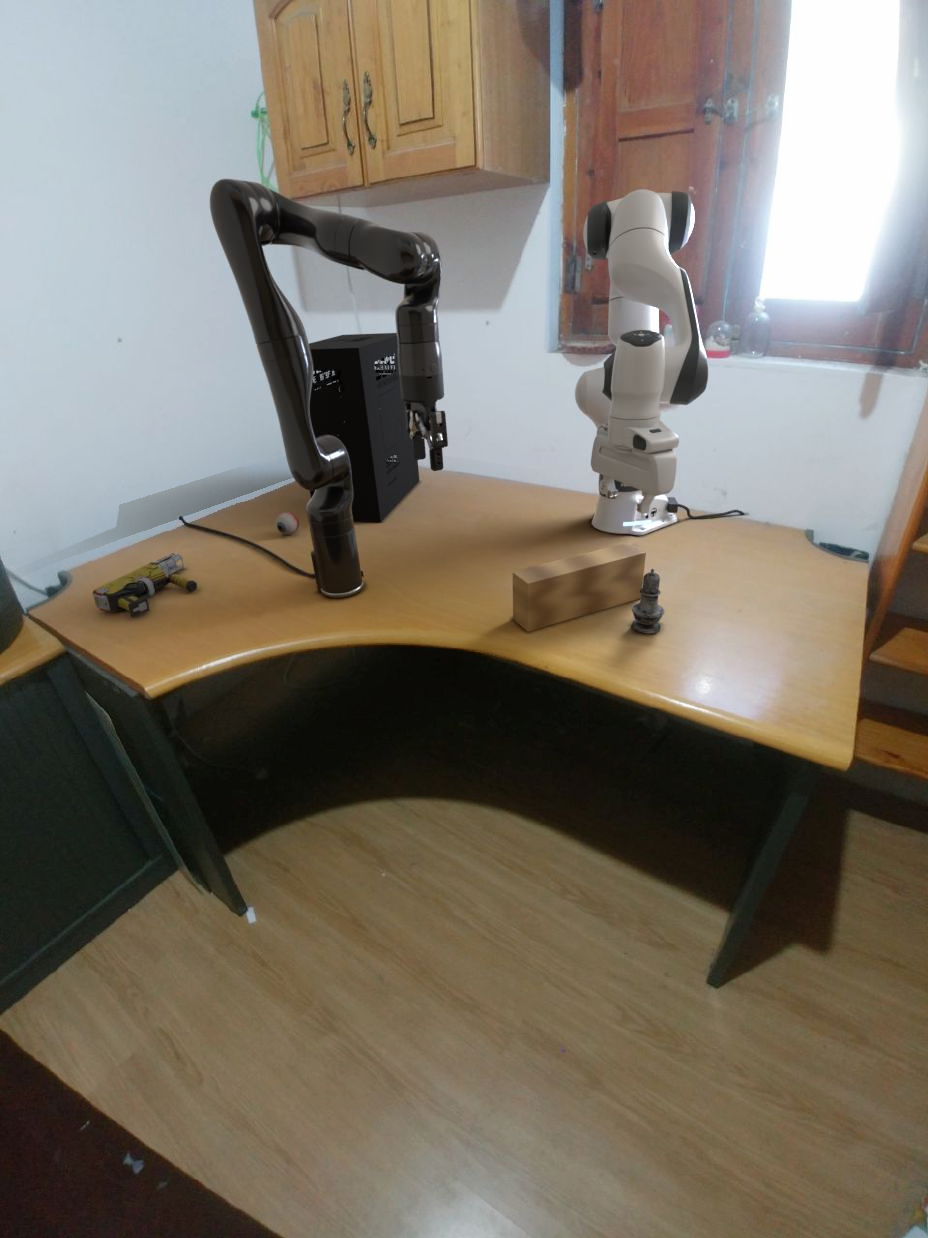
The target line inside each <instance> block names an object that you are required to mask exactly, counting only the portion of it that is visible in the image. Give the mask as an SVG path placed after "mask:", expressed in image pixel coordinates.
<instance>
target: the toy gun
mask: <svg viewBox="0 0 928 1238" xmlns="http://www.w3.org/2000/svg"><path fill="white" fill-rule="evenodd" d="M179 561H181V564H182V565H180V564H177V563H178V562H179ZM184 568H185V564H184V559H183V556H182V554H179V553H177V554H176V553H174V552H172V553H170V554H168V555H166V556H163V557H162V558H160V559H157V560H156V561H154V562H152V561H151V562H149V563H147V564H145V565H143V566H141V567H139V568H137V569H135V570H132V571H131V572H129V573H126V574H124V575H122V576H120V577H117V578H115V579H114V580H112V581H110V582H107V583H105V584H104V585H102V586H99V587H97V588H95V589H93V591H92V596H93V599H94V603H95V607H96V608H97V609H99V611H100V612H102V611H103V612H104V613H106V612H108V611H109V612H116V611H120V610H126V611H128V612H129V614H130V617H131V618H136V617H139V616H141V615H143V614H145V613H147V612H150V610H151V609H150V605H149V600H148V599H149V598H151V597H152V596H154V595H155V594H156V593H155V592H156V590H159V589H162V588H164V587H166V586H168V585H169V584H172V585H175V586H177V587H179V588H182V589H184V590H187V591H188V592H189V593H192V592H194V591H196V590H197V589H198V584H197V582H196V581H195V580H193V579H189V578H186V577H184V576H182V575H179V574H177V572H179V571H180V570H183V569H184Z"/></svg>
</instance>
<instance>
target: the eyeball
mask: <svg viewBox="0 0 928 1238" xmlns="http://www.w3.org/2000/svg"><path fill="white" fill-rule="evenodd" d="M299 525H300V522H299V519H298V517H297V516H296V515H295V514H294V513H292V512H287V511H286V512H282V513H280V514H279V515H278V516H277V517H276V520H275V527H276V529H277V530H278V531H279V532H280V533H281V534H282V535H285V536H286V535H287V536H289V535H293V534H295V533H296V532H297V531H298V529H299Z"/></svg>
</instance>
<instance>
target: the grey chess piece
mask: <svg viewBox="0 0 928 1238" xmlns="http://www.w3.org/2000/svg"><path fill="white" fill-rule="evenodd" d="M660 582H661V576H660V575H659V573H656V572H655V569H654V568H652V569H650V571H649V572H647V573H645V574H644V575H643V584H642V589H641V590H640V593H641V598H640V601H639V602H637V603H635V604H633V605H632V606H631V611H632V614H633V618H634V619H635V620H633V621H632V622H631V627H632V628H633V630H634V631H637V632H638V633H642V634H654V633H658V632H659V631H660V630H661V629H662V625H661V624H660V623H659V622H660V621H661V619H662V618H663V616H664V614H665V609H664V607H663V606H662V605H660V604H659V596H660V595H661V590H660Z"/></svg>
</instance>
